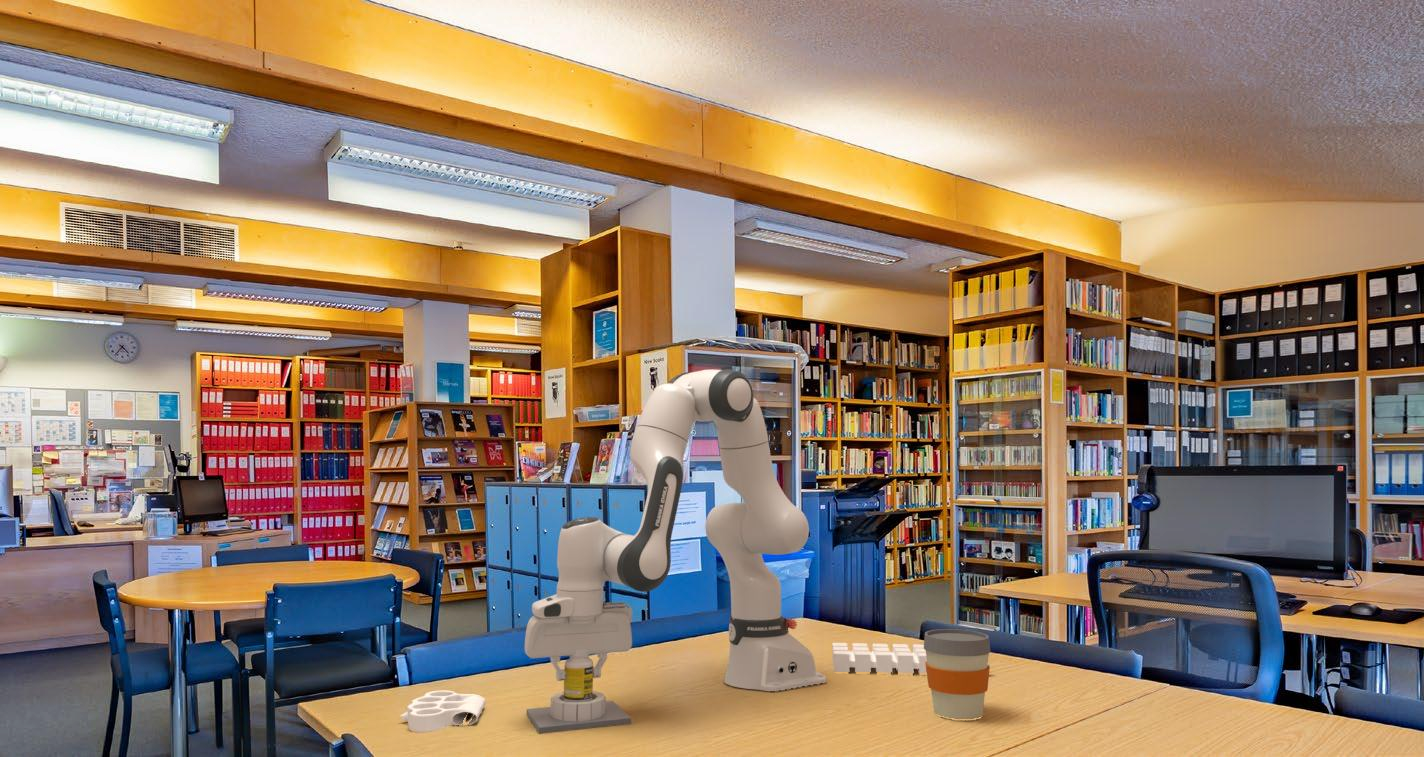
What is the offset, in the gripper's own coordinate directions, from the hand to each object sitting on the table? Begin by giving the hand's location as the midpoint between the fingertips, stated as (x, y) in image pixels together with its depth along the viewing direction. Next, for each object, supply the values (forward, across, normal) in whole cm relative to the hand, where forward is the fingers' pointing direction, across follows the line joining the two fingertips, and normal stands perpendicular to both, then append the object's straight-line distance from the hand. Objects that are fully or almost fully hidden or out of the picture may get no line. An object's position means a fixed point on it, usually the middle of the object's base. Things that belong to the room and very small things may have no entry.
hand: (578, 678), depth 170 cm
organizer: (+8, -82, -13) cm, 83 cm away
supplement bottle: (+4, 0, 0) cm, 4 cm away
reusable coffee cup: (+8, -69, +23) cm, 73 cm away
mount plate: (+7, 0, 0) cm, 7 cm away
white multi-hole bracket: (+8, +24, -10) cm, 27 cm away
